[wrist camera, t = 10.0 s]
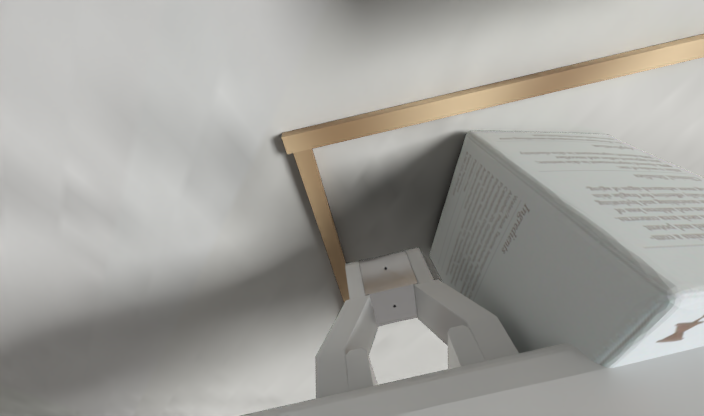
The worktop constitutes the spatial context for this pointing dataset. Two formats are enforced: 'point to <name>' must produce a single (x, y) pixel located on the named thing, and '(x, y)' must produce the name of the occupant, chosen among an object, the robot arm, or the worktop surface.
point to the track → (455, 104)
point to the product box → (577, 243)
